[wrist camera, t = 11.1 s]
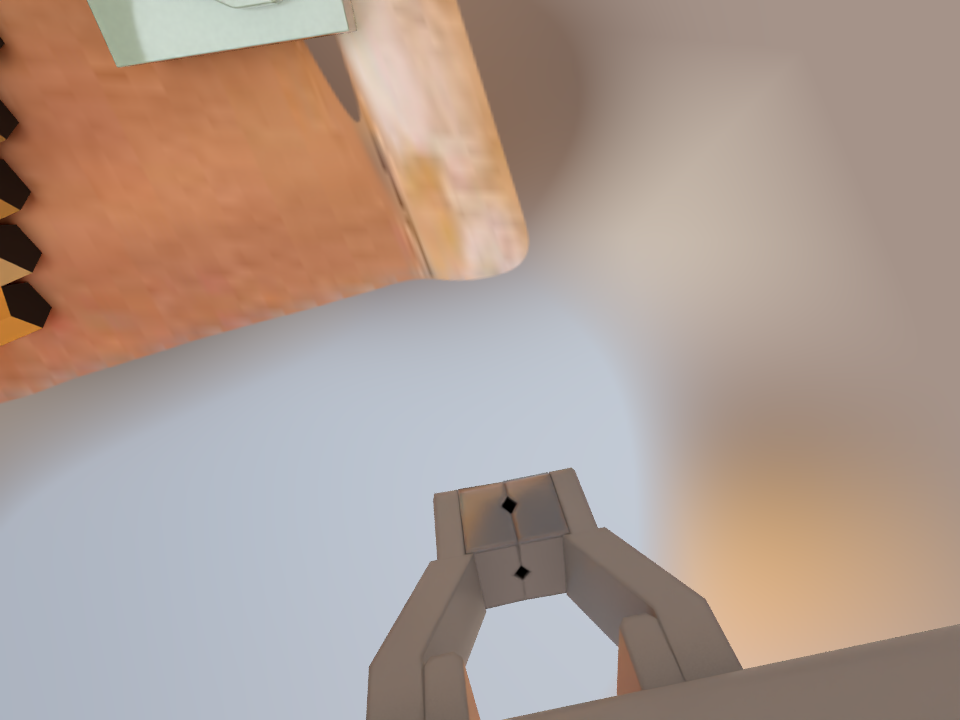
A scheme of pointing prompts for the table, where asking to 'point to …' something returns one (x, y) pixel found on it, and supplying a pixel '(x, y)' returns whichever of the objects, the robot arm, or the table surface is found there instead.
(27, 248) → the pan flute
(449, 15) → the table surface
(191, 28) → the dispenser
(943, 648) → the robot arm
